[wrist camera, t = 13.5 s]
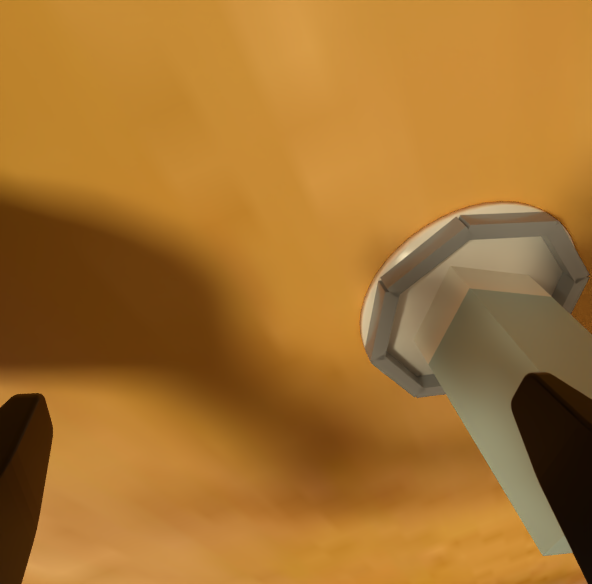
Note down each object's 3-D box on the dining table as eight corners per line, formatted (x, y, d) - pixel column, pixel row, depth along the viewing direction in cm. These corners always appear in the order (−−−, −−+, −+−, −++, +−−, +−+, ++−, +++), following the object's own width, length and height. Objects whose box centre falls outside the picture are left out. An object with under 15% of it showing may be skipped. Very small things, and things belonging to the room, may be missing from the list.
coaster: (346, 390, 29) (353, 409, 28) (380, 205, 22) (391, 220, 21) (525, 370, 32) (538, 387, 30) (608, 197, 24) (630, 210, 23)
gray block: (413, 339, 27) (542, 555, 17) (450, 265, 24) (626, 473, 15) (486, 344, 28) (642, 545, 19) (528, 275, 26) (734, 468, 16)
